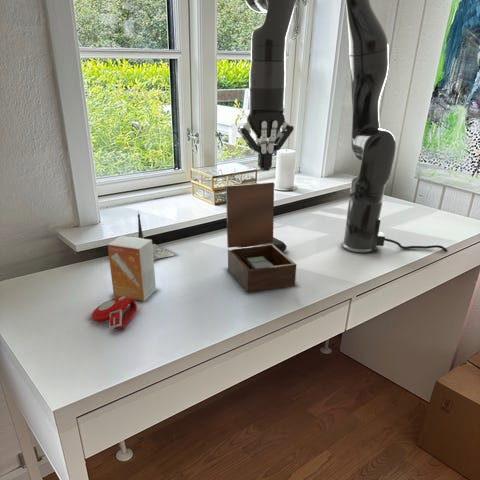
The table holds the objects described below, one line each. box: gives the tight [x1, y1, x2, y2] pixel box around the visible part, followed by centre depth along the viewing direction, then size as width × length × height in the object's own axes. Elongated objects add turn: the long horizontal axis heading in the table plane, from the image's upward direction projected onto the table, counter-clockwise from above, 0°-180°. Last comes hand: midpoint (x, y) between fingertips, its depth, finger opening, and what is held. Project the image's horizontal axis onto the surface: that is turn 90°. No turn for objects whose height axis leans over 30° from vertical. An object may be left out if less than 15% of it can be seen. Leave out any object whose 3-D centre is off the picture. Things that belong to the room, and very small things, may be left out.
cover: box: [225, 181, 275, 249], centre depth 120 cm, size 16×13×1 cm
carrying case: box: [243, 236, 288, 253], centre depth 137 cm, size 11×3×15 cm
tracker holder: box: [91, 296, 138, 331], centre depth 100 cm, size 12×4×10 cm
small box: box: [107, 235, 157, 302], centre depth 108 cm, size 8×6×13 cm
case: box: [227, 244, 297, 294], centre depth 119 cm, size 15×13×6 cm
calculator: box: [243, 256, 275, 269], centre depth 120 cm, size 10×6×3 cm, turn 20°
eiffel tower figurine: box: [137, 210, 175, 261], centre depth 128 cm, size 15×10×13 cm
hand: (264, 170), depth 107 cm, fingers closed
